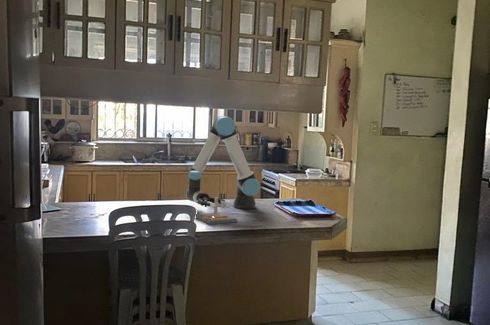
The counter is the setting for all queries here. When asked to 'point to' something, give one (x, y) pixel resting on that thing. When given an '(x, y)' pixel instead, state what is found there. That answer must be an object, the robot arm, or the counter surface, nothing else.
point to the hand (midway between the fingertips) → (220, 205)
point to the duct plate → (215, 218)
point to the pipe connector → (217, 205)
